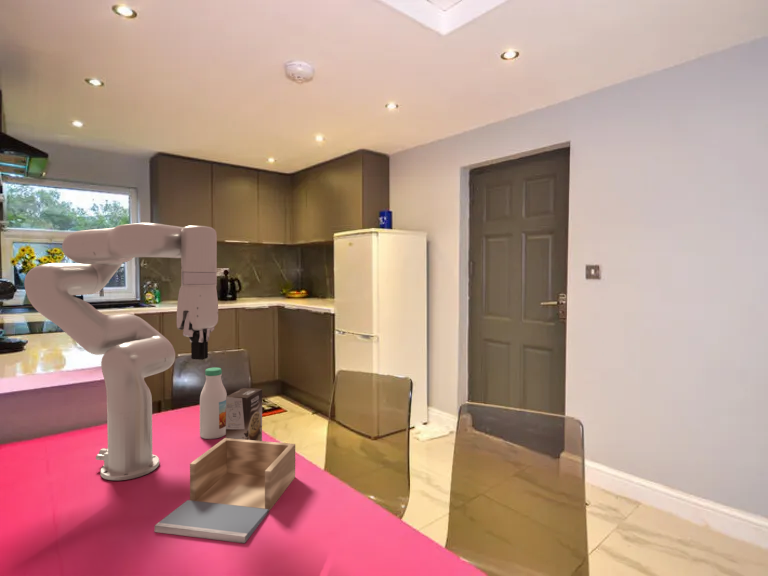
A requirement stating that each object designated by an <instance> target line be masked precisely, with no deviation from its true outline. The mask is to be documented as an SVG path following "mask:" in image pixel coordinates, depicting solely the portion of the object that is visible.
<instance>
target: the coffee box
mask: <svg viewBox="0 0 768 576" xmlns="http://www.w3.org/2000/svg"><path fill="white" fill-rule="evenodd" d="M225 438H231V439H243V440H255V441H263V389H262V388H250V387H249V388H245V387H243V388H240V389H238V390H236V391H234V392H233V393H230V394H228V395H227V396H226V435H225Z"/></svg>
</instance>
